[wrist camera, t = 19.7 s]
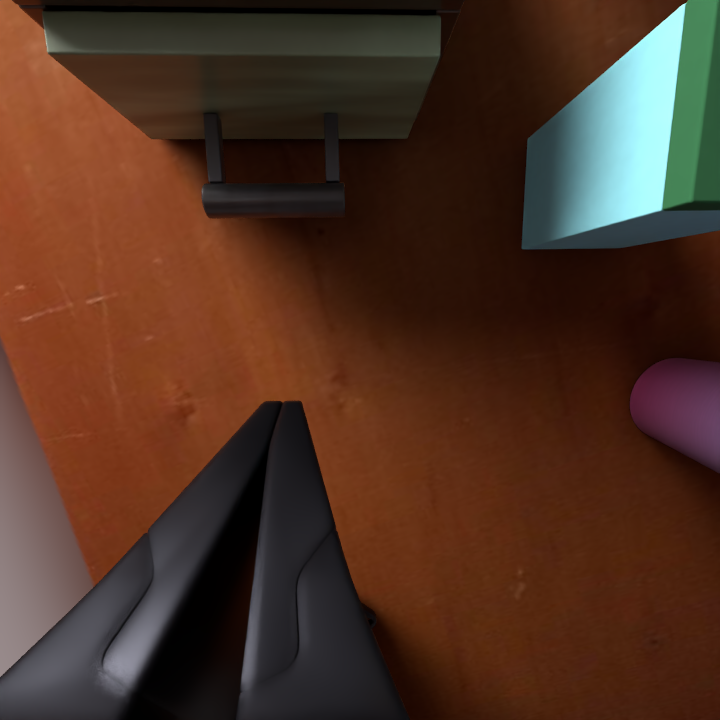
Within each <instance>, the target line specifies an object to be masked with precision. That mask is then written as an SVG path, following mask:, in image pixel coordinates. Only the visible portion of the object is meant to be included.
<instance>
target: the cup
mask: <svg viewBox="0 0 720 720" xmlns="http://www.w3.org/2000/svg"><path fill="white" fill-rule="evenodd" d="M630 412H631V416H632V418H633V421H634V422H635V424H636V425H637V427H638V428H639V429H640V430H641V431H642V432H643V433H645V434H647V435H648V436H650V437H652V438H654V439H656V440H658V441H660V442H661V443H663V444H665V445H667V446H669V447H671V448H673V449H675V450H676V451H678V452H680V453H682V454H684V455H686V456H688V457H690V458H691V459H693V460H695V461H697V462H699V463H701V464H703V465H704V466H706V467H708V468H710V469H712V470H714V471H716V472H718V473H719V474H720V362H712V361H703V360H694V359H685V358H669V359H666V360H662V361H660V362H658V363H656V364H654V365H652V366H651V367H649V368H648V369H647V370H646V371H645V372H644V373H643V374H642V375H641V376H640V377H639V379H638V380H637V382H636V383H635V385H634V388H633V390H632V393H631V397H630Z"/></svg>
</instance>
